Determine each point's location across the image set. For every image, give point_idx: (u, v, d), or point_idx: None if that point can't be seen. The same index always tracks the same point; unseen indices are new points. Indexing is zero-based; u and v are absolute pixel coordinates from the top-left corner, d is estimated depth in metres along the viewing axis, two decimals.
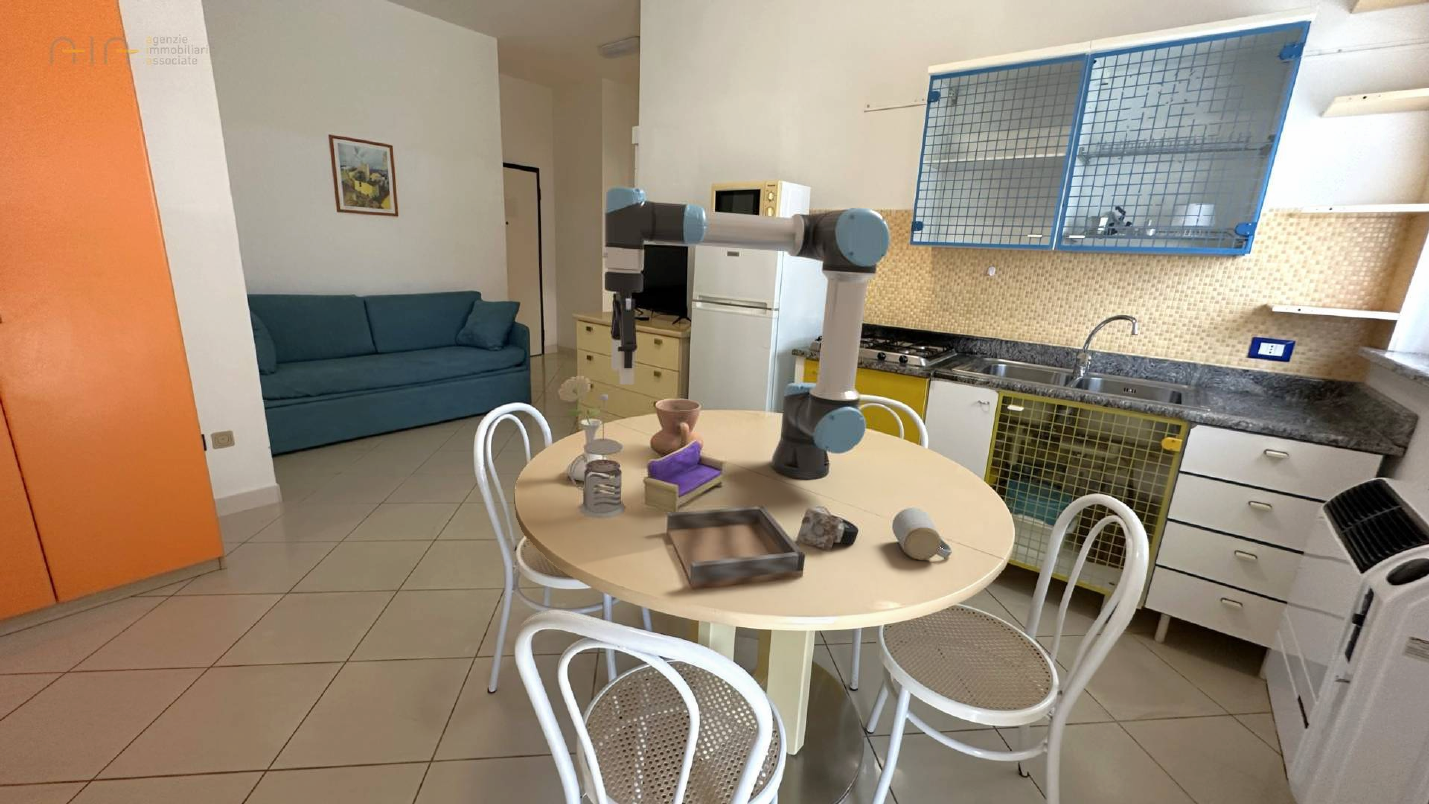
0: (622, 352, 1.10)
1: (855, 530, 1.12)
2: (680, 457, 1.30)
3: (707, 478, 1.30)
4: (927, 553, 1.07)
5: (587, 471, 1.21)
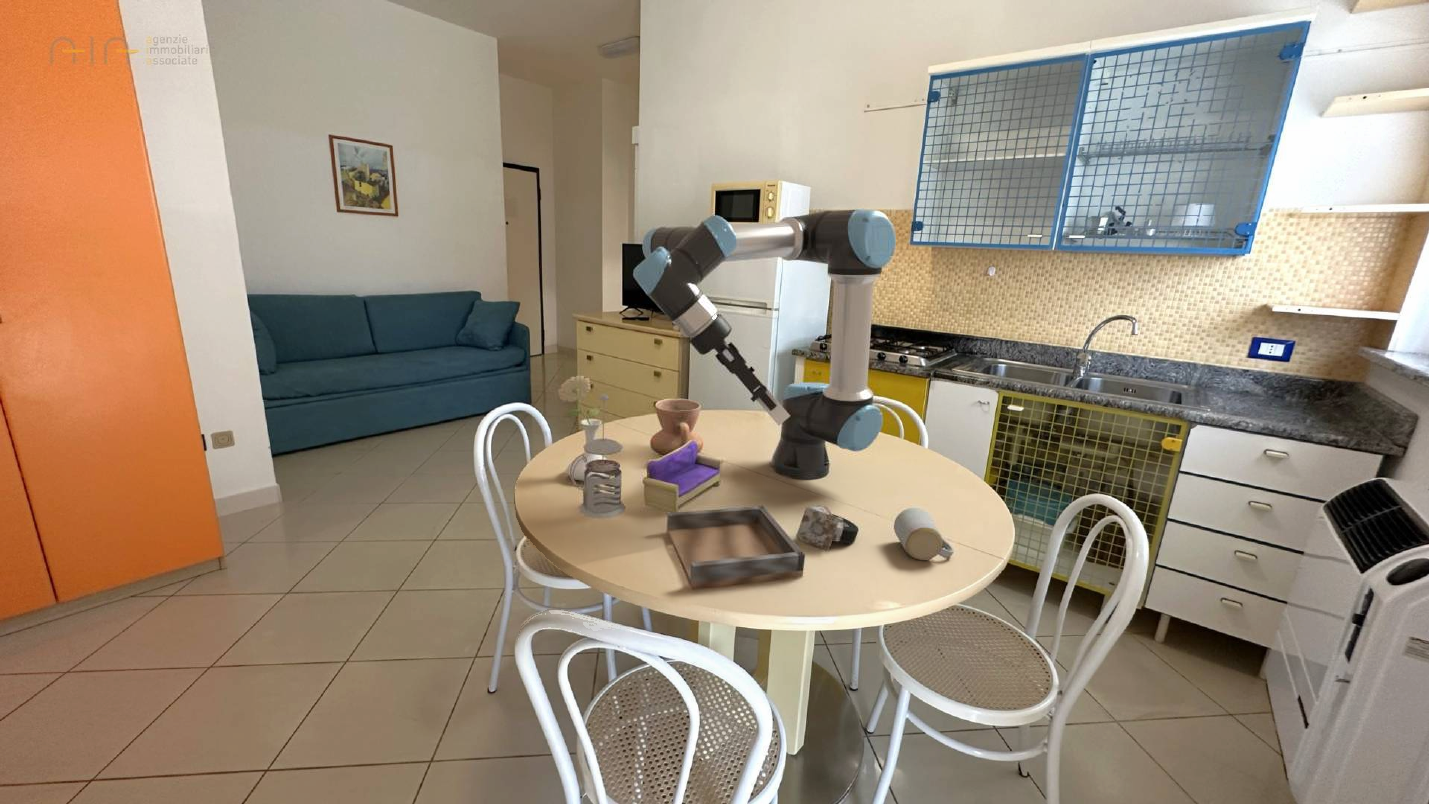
0: (758, 398, 1.00)
1: (855, 529, 1.12)
2: (678, 456, 1.30)
3: (705, 477, 1.30)
4: (929, 553, 1.07)
5: (587, 471, 1.21)
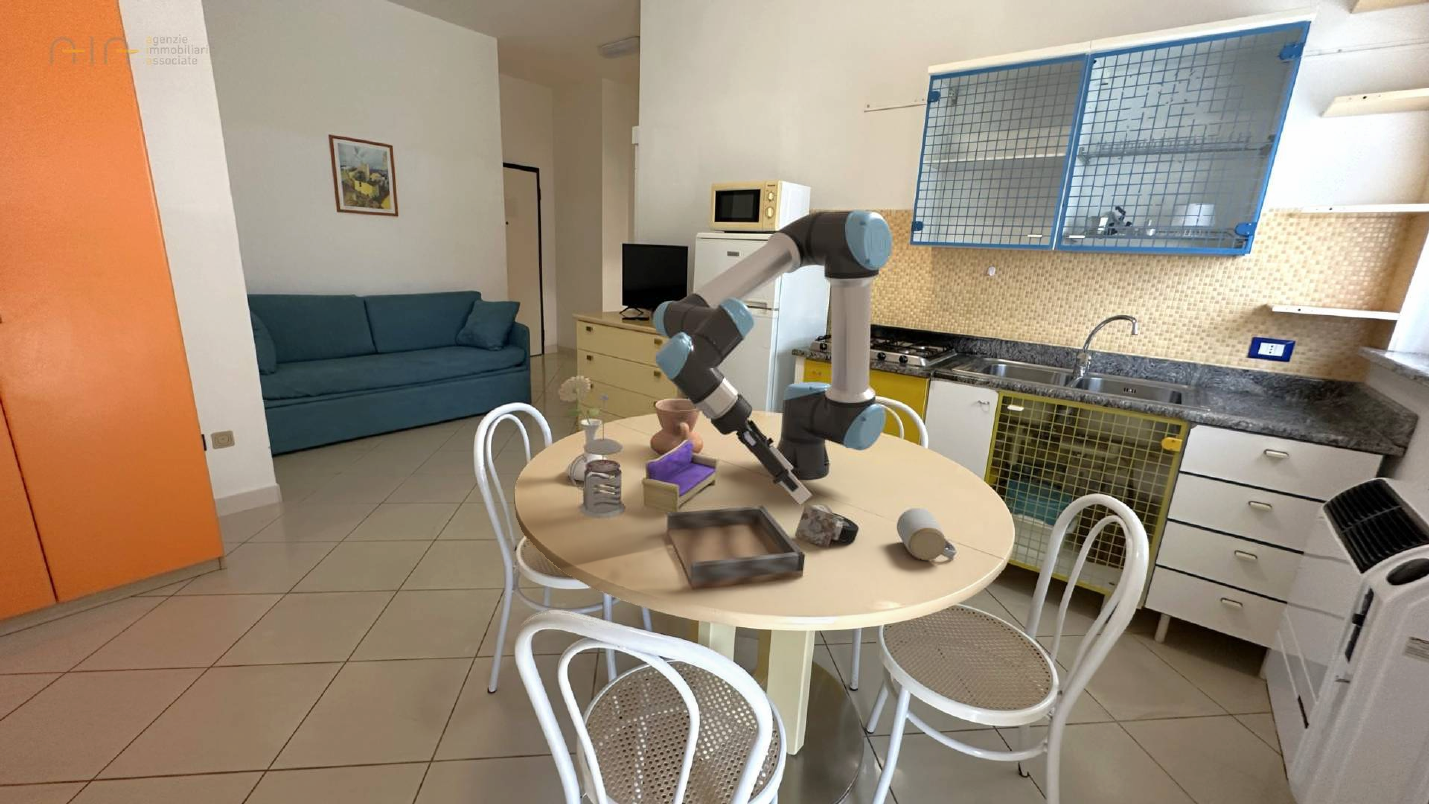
0: None
1: (854, 529, 1.13)
2: (675, 456, 1.30)
3: (703, 476, 1.31)
4: (932, 554, 1.07)
5: (587, 471, 1.21)
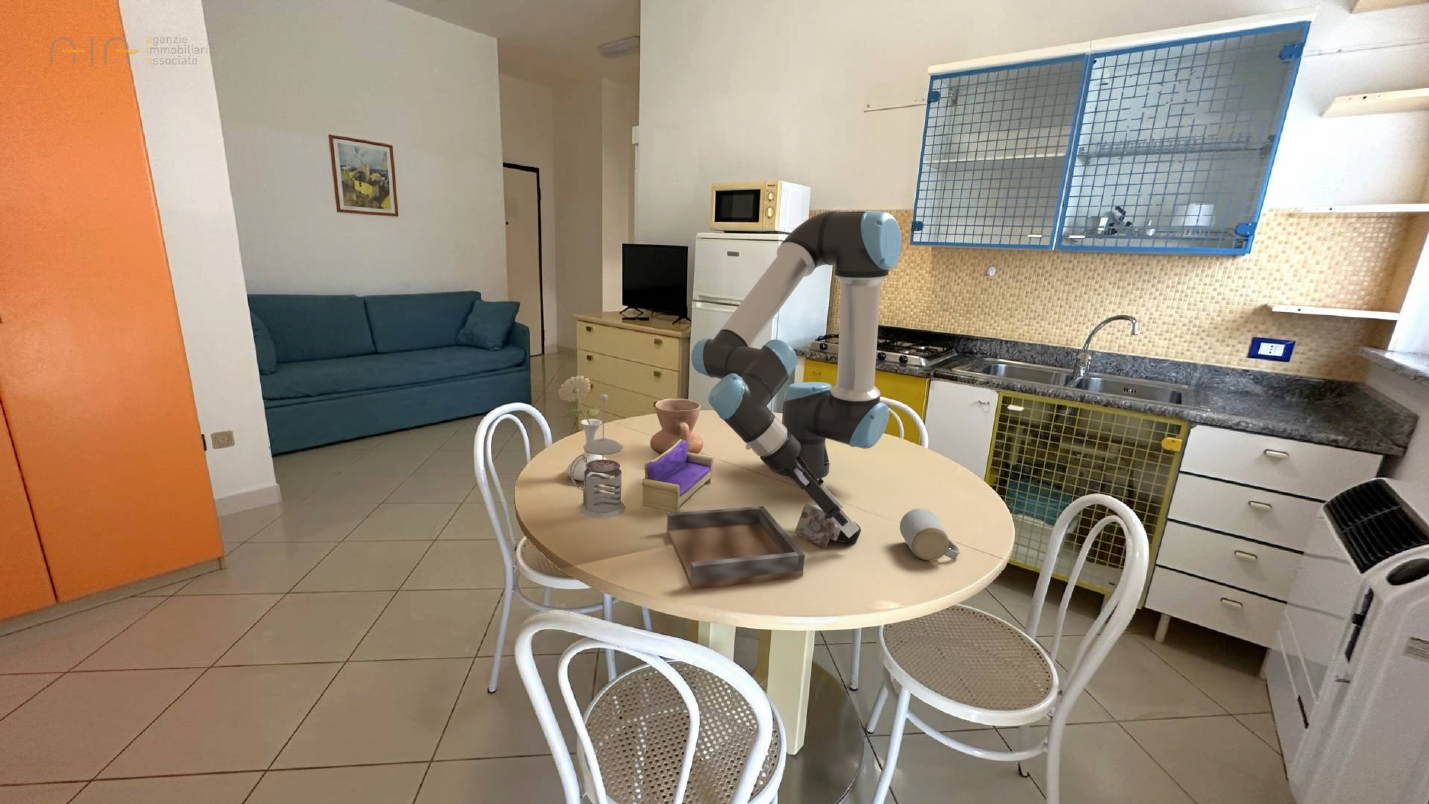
0: None
1: None
2: (672, 456, 1.30)
3: (700, 476, 1.31)
4: (935, 554, 1.07)
5: (587, 471, 1.21)
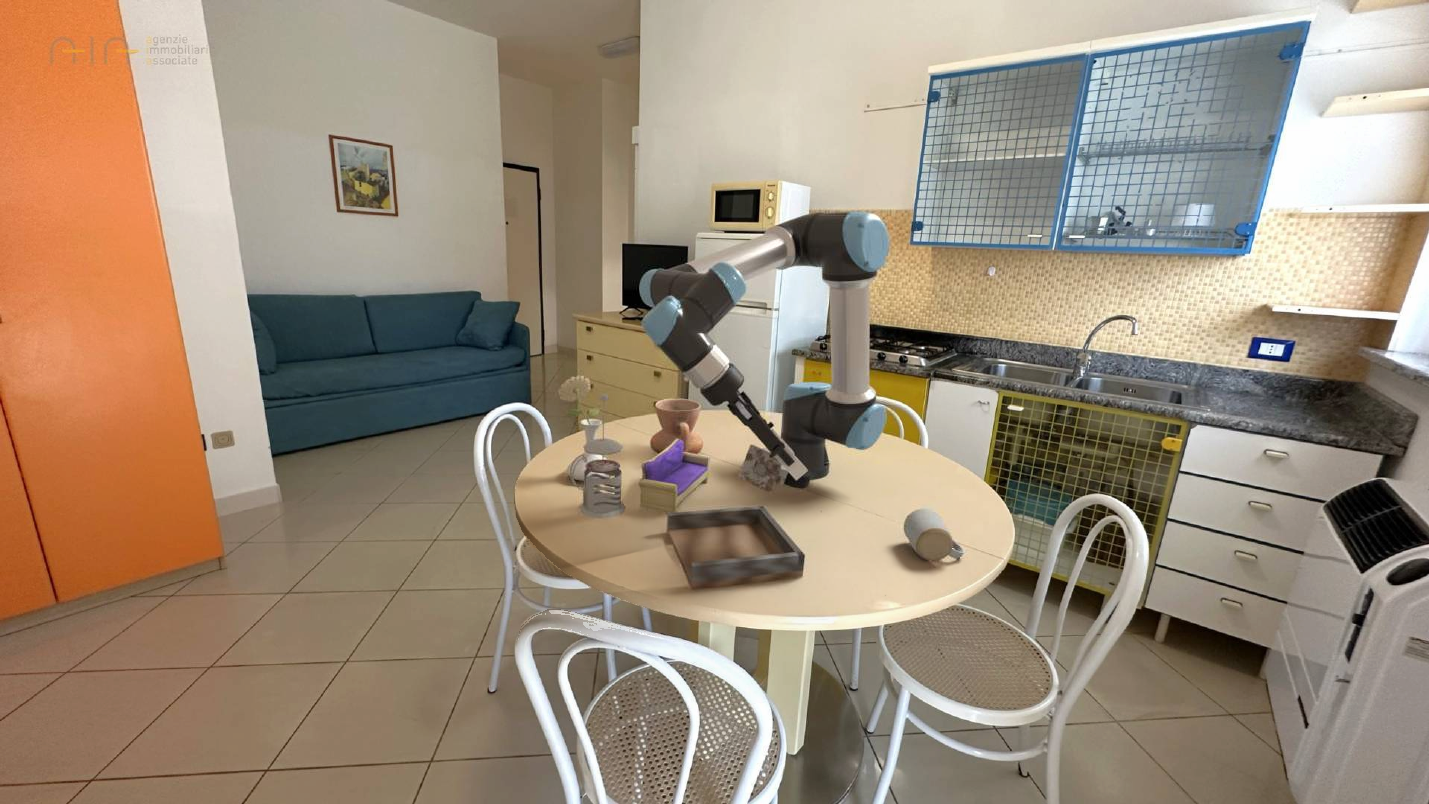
0: (775, 454, 0.99)
1: (805, 475, 1.02)
2: (669, 456, 1.30)
3: (697, 475, 1.31)
4: (939, 554, 1.07)
5: (587, 471, 1.21)
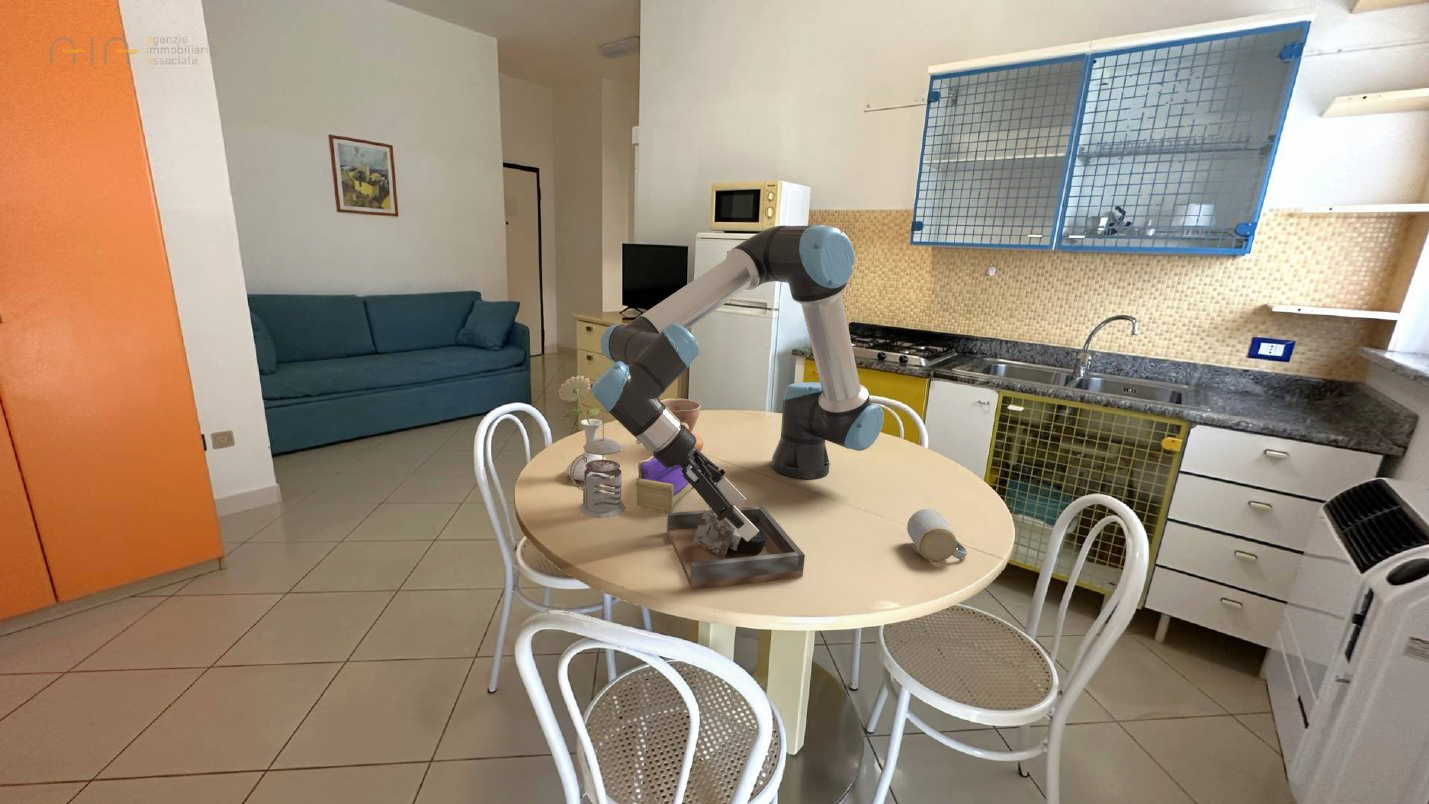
0: None
1: (758, 540, 1.03)
2: None
3: None
4: (943, 555, 1.07)
5: (587, 471, 1.21)
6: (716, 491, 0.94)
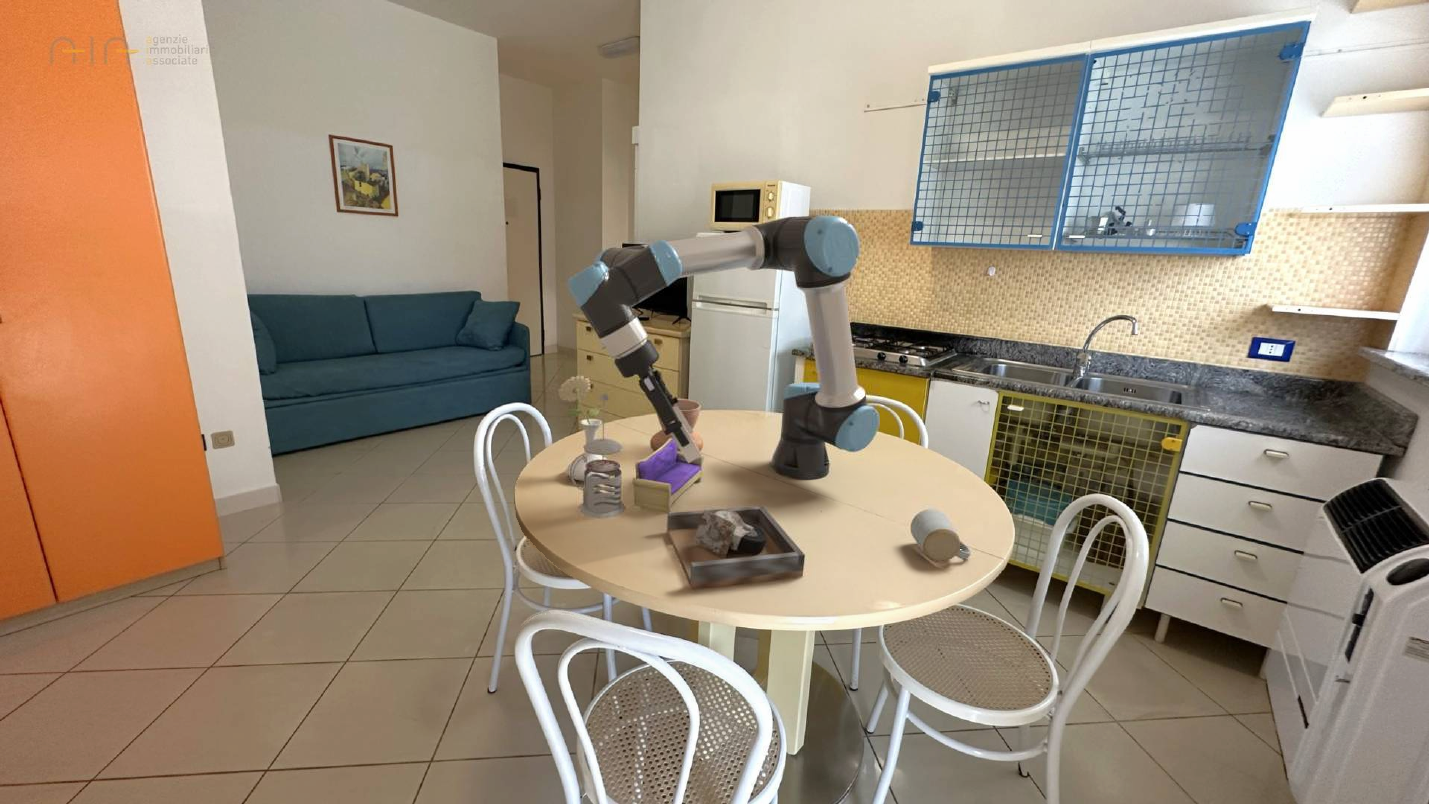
0: (671, 432, 0.98)
1: (759, 540, 1.03)
2: (662, 455, 1.31)
3: (691, 474, 1.31)
4: (947, 555, 1.07)
5: (587, 471, 1.21)
6: (669, 404, 0.96)
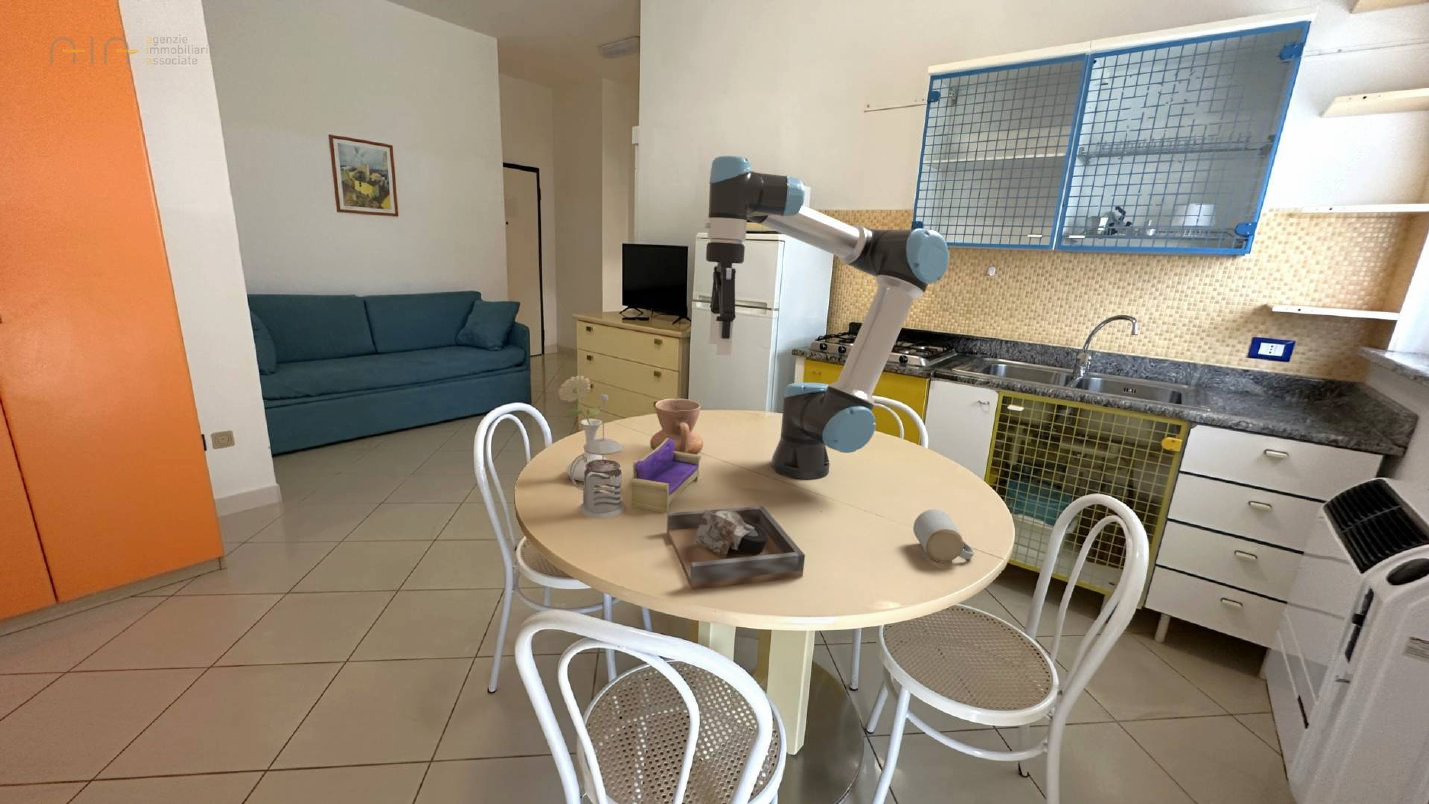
0: (720, 322, 1.09)
1: (759, 540, 1.03)
2: (659, 455, 1.31)
3: (688, 474, 1.32)
4: (950, 555, 1.07)
5: (587, 471, 1.21)
6: None
